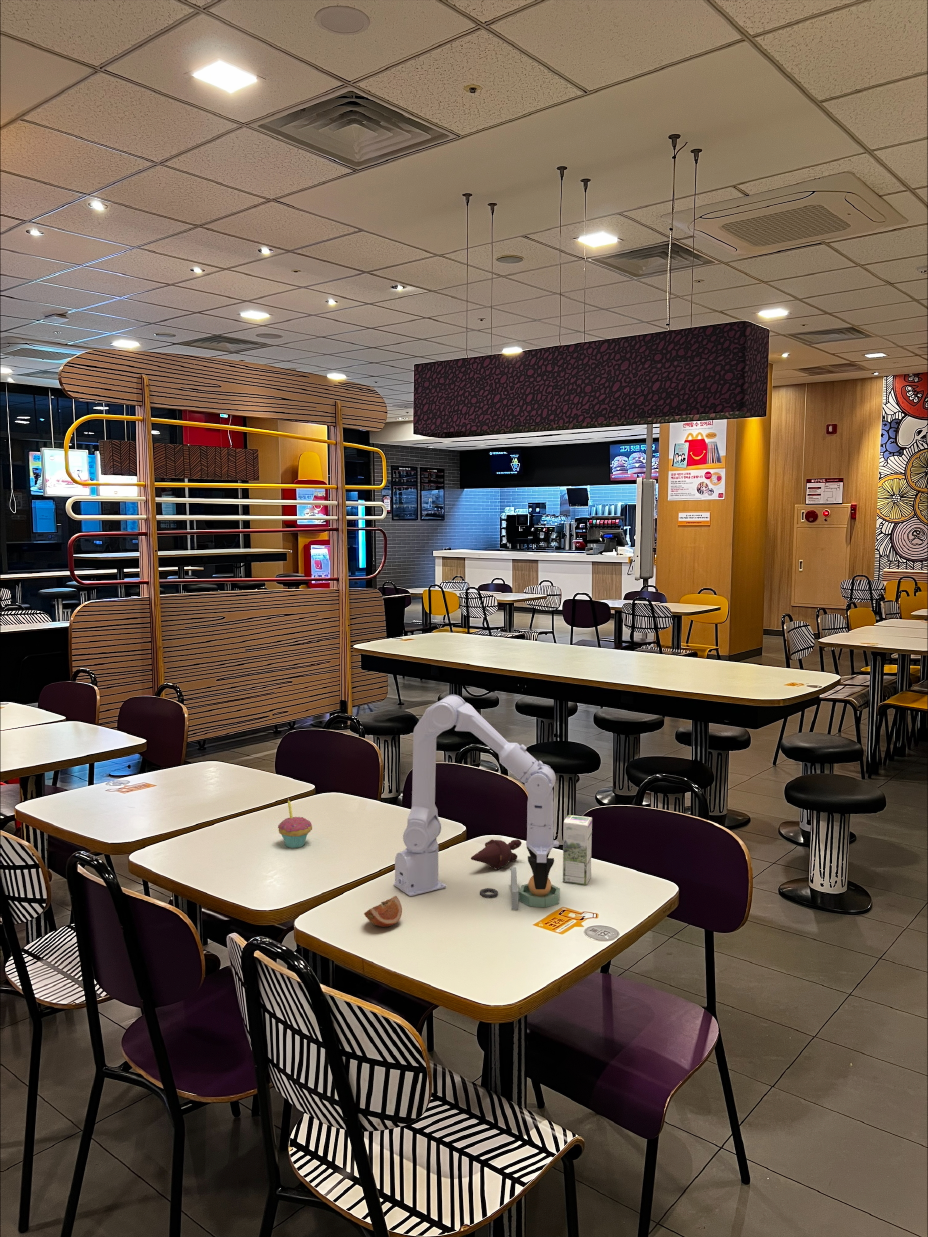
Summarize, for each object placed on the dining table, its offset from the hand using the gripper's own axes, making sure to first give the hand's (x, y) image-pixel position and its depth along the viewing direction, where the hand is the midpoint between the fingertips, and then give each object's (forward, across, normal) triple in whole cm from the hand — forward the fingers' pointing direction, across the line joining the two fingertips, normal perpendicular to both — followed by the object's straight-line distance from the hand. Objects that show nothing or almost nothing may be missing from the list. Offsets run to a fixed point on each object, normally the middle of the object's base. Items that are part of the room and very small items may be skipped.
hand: (539, 883), depth 193 cm
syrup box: (+4, +11, -9) cm, 15 cm away
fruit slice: (+4, -14, +33) cm, 36 cm away
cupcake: (+4, +32, +61) cm, 69 cm away
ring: (+4, +2, +11) cm, 12 cm away
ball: (0, 0, 0) cm, 0 cm away
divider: (+4, +1, +6) cm, 7 cm away
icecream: (+4, +18, +10) cm, 21 cm away
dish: (+4, 0, 0) cm, 4 cm away
